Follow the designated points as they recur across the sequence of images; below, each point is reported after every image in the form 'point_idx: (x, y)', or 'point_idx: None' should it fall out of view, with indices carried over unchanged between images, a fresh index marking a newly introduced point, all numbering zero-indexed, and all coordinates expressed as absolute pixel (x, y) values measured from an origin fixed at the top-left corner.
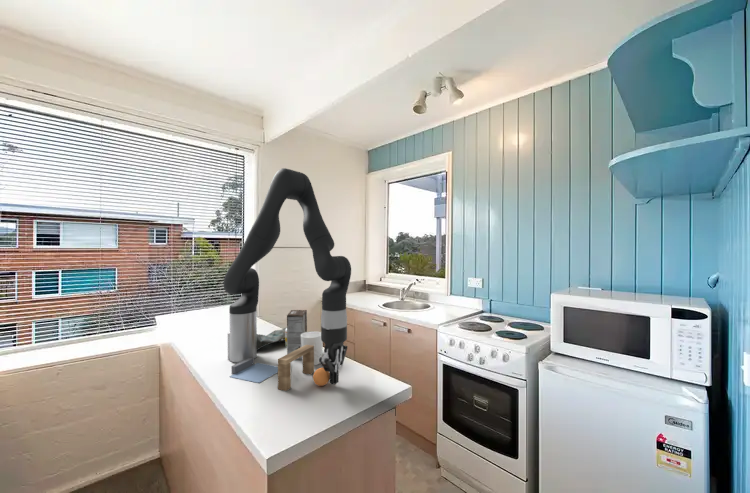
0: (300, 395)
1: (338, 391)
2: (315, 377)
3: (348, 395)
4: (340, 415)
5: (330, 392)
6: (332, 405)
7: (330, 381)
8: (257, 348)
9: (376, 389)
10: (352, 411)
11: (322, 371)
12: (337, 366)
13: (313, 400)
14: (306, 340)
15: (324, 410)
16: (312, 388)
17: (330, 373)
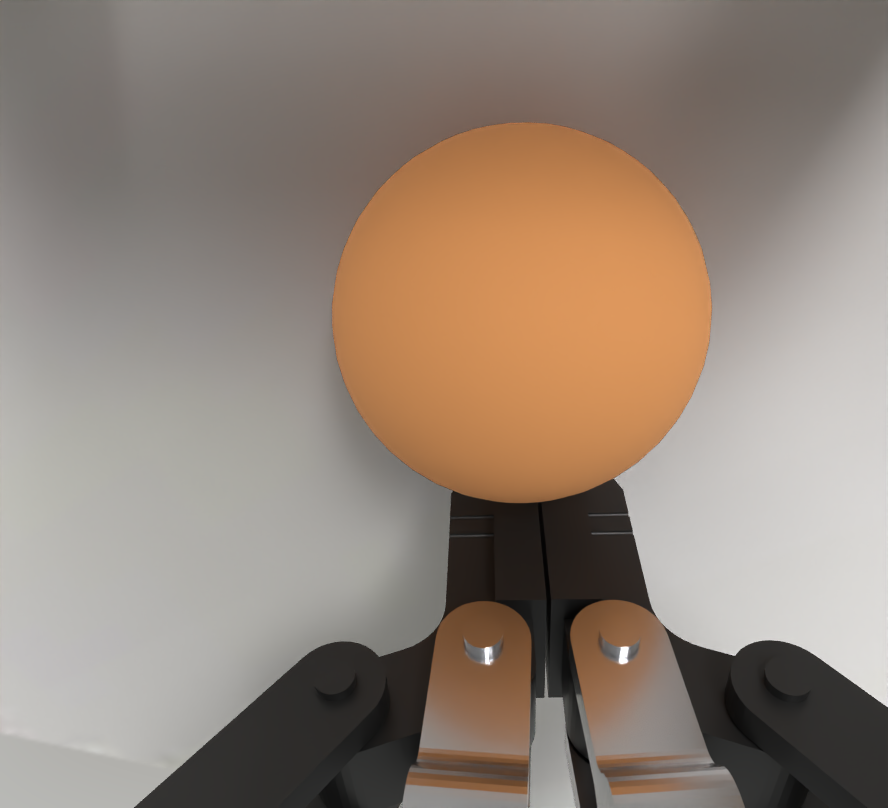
0: (28, 138)
1: (440, 536)
2: (332, 308)
3: (408, 646)
4: (72, 711)
5: (369, 473)
6: (146, 609)
7: (454, 502)
8: None
9: None
10: (185, 751)
11: (442, 470)
12: (573, 775)
13: (74, 401)
14: None
15: (23, 591)
16: (334, 171)
17: (449, 612)
